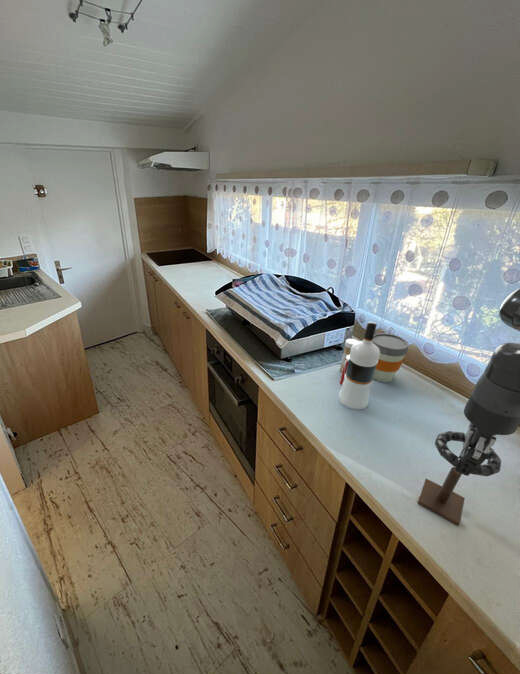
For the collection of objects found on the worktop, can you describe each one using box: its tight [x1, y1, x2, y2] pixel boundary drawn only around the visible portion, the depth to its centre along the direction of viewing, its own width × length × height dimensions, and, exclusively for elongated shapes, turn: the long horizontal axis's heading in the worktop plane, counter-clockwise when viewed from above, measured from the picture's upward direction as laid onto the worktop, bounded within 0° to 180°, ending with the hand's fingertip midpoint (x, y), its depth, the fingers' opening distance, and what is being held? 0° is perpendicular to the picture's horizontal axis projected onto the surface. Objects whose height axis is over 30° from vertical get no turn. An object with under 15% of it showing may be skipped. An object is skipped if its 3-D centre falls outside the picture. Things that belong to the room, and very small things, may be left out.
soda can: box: [339, 355, 349, 387], centre depth 109 cm, size 5×5×12 cm
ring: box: [434, 430, 502, 477], centre depth 64 cm, size 11×11×2 cm
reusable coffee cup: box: [372, 332, 409, 382], centre depth 114 cm, size 13×13×15 cm
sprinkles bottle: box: [339, 338, 359, 373], centre depth 117 cm, size 5×5×14 cm
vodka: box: [338, 321, 380, 410], centre depth 97 cm, size 9×9×30 cm
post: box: [417, 466, 466, 527], centre depth 70 cm, size 8×8×11 cm
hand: (462, 467), depth 62 cm, fingers closed on ring, 2 cm apart
